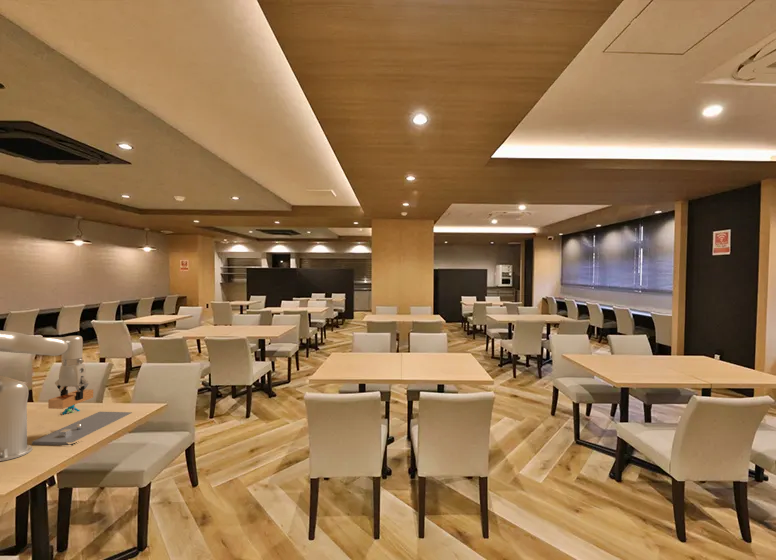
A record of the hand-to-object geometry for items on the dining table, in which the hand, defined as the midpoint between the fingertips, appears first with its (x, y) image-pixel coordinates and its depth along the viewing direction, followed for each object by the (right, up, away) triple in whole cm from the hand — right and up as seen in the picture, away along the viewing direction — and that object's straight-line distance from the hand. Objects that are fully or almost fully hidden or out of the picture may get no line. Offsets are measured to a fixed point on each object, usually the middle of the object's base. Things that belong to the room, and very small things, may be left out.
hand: (71, 399), depth 174 cm
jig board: (+1, -17, +8) cm, 19 cm away
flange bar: (0, -2, 0) cm, 2 cm away
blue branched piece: (-25, -17, +28) cm, 41 cm away
